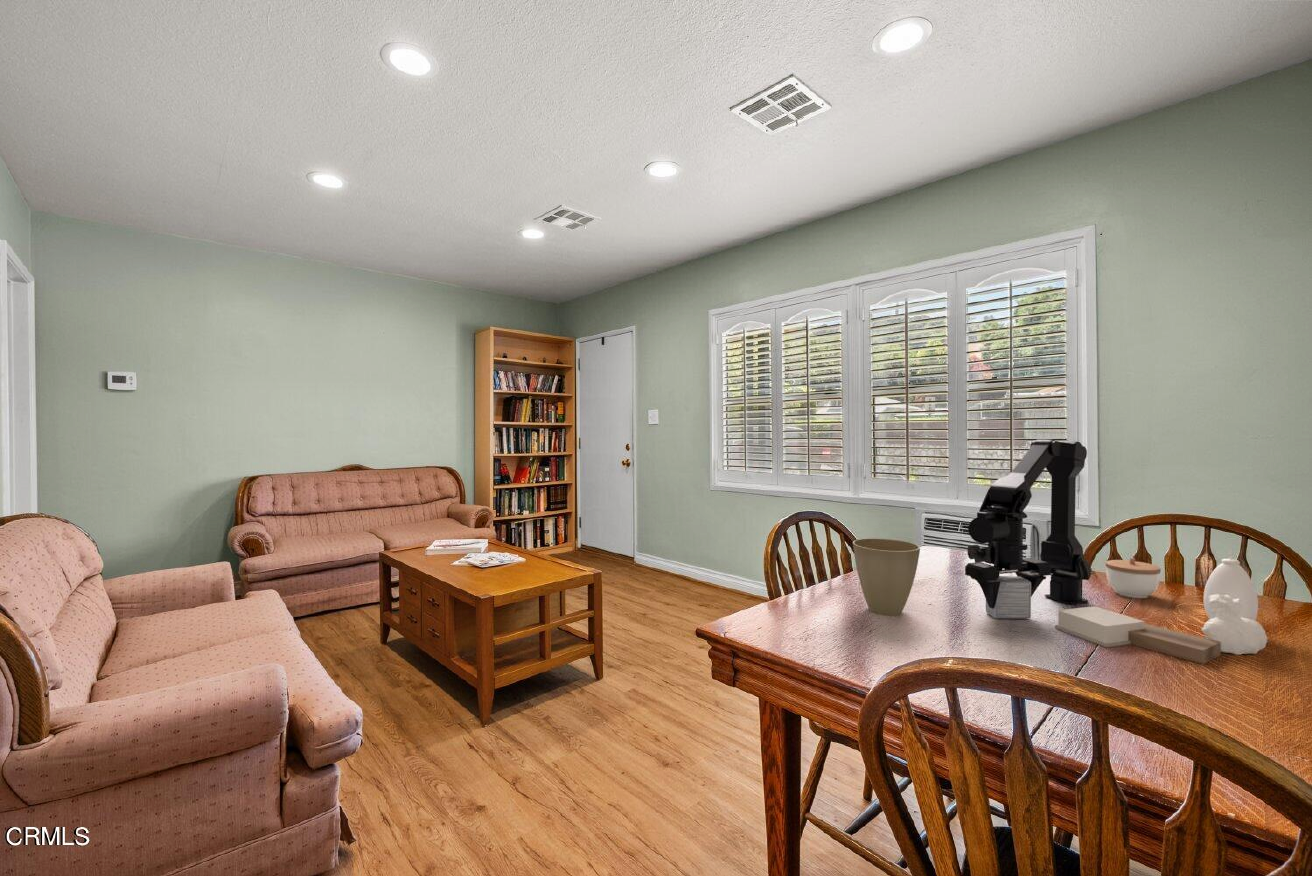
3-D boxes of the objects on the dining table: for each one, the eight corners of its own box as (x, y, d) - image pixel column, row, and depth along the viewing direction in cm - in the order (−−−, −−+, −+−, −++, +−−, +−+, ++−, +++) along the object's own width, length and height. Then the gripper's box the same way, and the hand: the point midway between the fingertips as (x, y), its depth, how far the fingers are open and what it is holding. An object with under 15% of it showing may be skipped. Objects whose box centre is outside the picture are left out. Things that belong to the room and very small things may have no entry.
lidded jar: (1096, 592, 145) (1096, 556, 145) (1119, 586, 150) (1119, 552, 150) (1146, 603, 136) (1146, 565, 135) (1169, 597, 140) (1169, 560, 140)
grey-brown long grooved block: (1141, 634, 116) (1141, 622, 116) (1220, 655, 105) (1220, 642, 105) (1123, 642, 112) (1123, 629, 112) (1203, 664, 102) (1203, 650, 102)
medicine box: (1020, 612, 130) (1020, 576, 129) (1031, 619, 125) (1031, 581, 125) (984, 612, 130) (984, 575, 130) (994, 619, 126) (994, 580, 126)
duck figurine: (1256, 658, 109) (1218, 602, 116) (1295, 646, 103) (1252, 588, 110) (1202, 661, 108) (1166, 604, 115) (1238, 650, 102) (1198, 590, 109)
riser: (1094, 623, 123) (1094, 605, 123) (1148, 641, 112) (1148, 622, 112) (1055, 628, 120) (1055, 609, 120) (1106, 647, 110) (1106, 627, 110)
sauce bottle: (1241, 641, 112) (1241, 552, 111) (1194, 628, 119) (1195, 544, 119) (1267, 637, 114) (1268, 549, 114) (1219, 624, 121) (1220, 542, 121)
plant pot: (911, 626, 122) (911, 554, 122) (844, 613, 131) (844, 545, 131) (926, 608, 134) (926, 542, 134) (863, 597, 143) (863, 535, 143)
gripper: (1011, 530, 137) (1011, 592, 138) (947, 534, 133) (947, 599, 133) (1053, 538, 126) (1052, 607, 127) (984, 544, 122) (984, 614, 122)
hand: (1007, 606), depth 128 cm, fingers closed on medicine box, 9 cm apart
